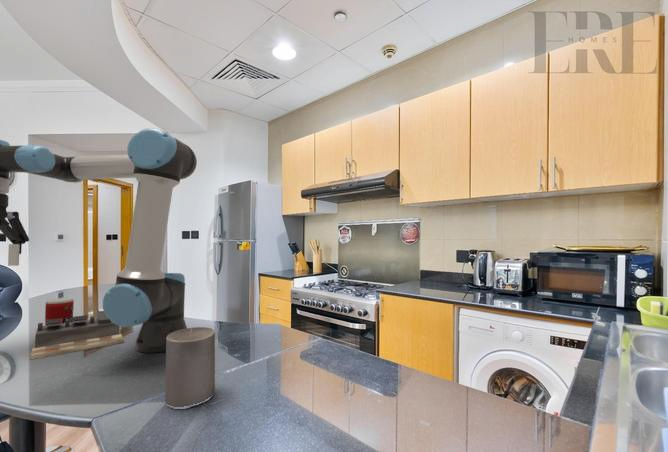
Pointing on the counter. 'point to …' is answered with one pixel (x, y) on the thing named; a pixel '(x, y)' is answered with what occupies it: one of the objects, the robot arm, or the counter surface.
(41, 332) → the switch unit
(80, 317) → the rocker middle
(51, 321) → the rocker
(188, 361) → the pillar candle
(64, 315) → the canned food
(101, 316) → the rocker
